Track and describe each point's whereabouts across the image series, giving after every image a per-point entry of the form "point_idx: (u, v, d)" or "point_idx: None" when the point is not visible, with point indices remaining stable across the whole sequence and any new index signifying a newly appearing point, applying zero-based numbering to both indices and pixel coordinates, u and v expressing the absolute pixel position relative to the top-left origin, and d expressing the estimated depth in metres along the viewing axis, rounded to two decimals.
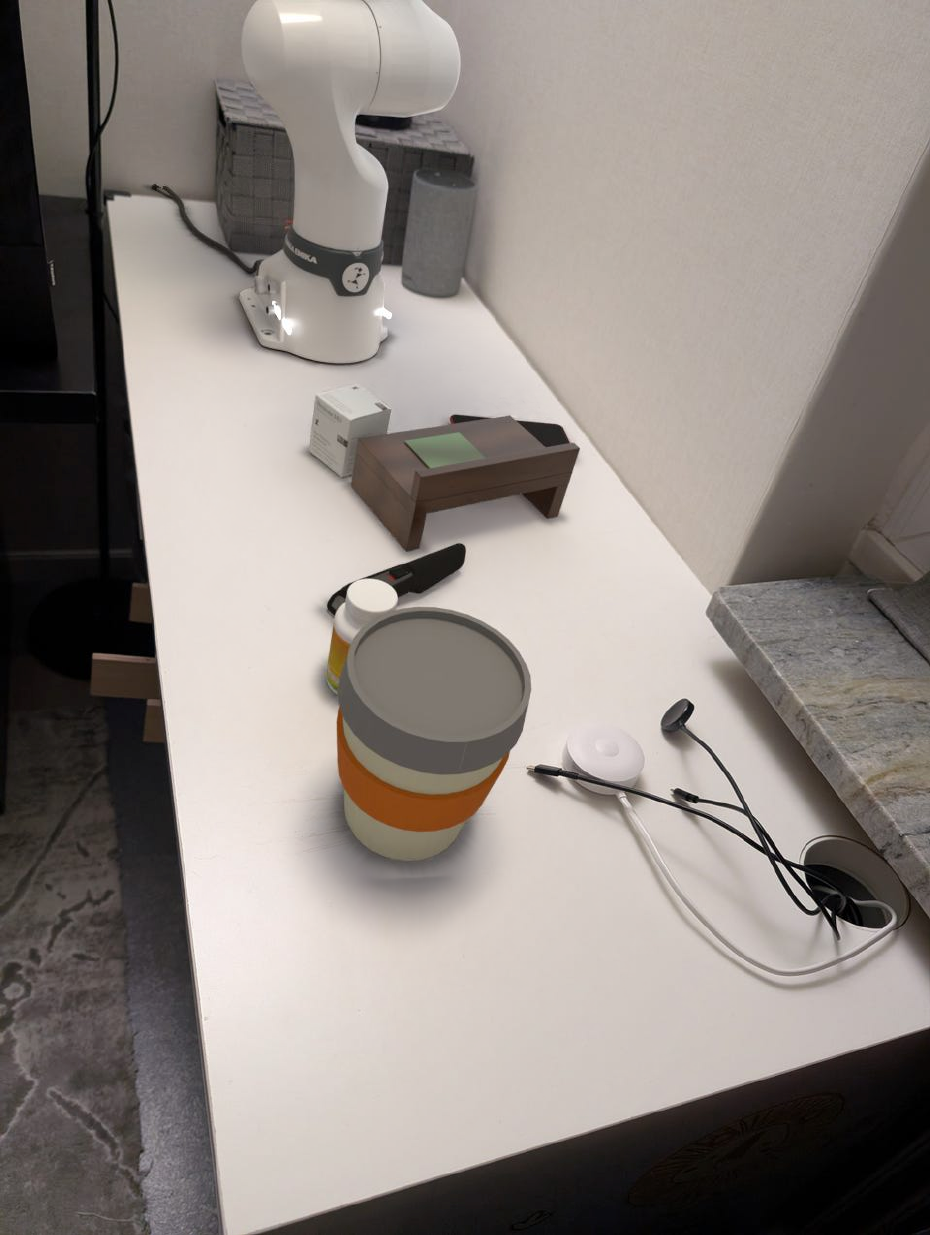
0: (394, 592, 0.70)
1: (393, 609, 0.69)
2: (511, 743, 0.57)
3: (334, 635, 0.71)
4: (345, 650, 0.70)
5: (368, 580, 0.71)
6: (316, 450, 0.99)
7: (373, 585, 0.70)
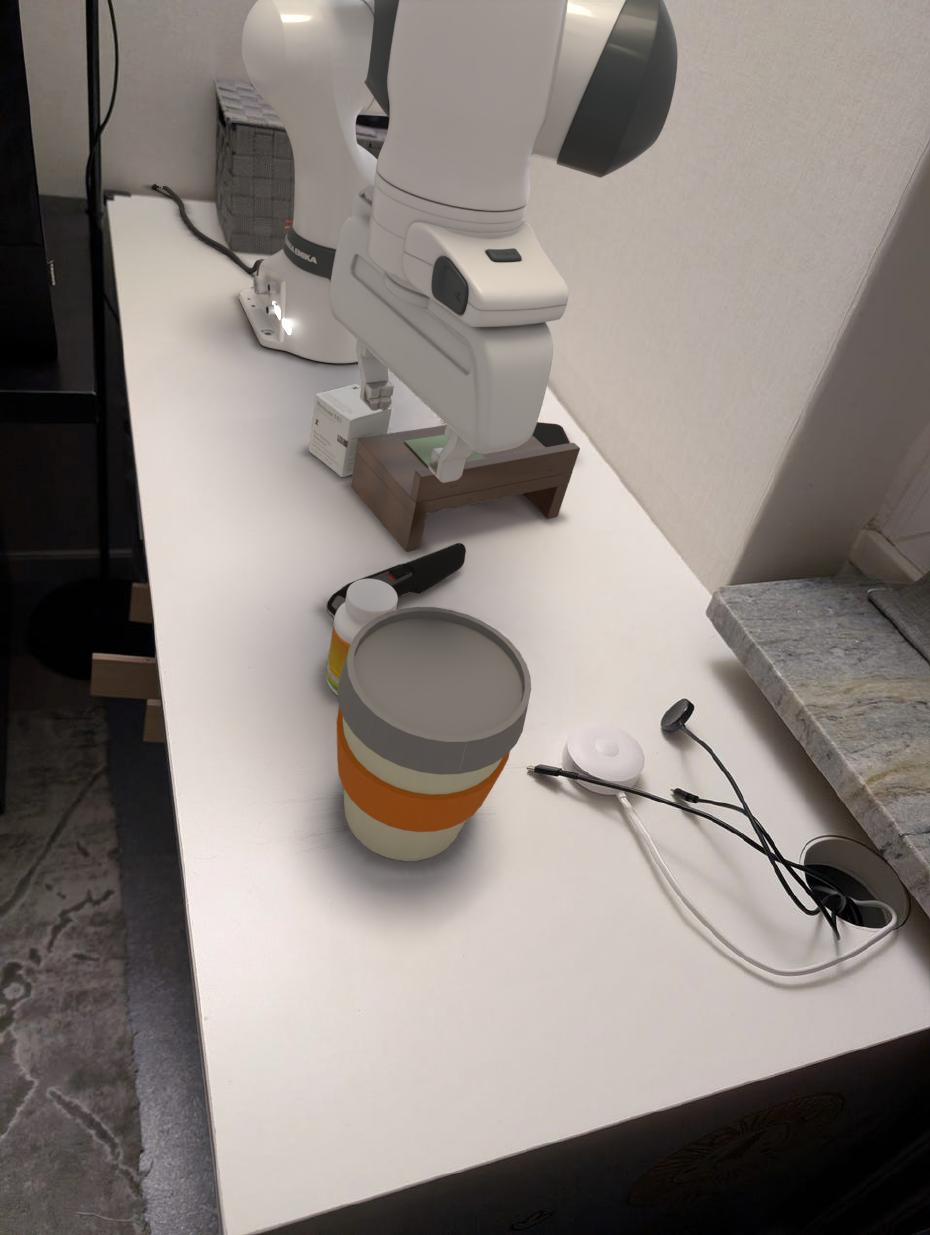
0: (394, 592, 0.70)
1: (393, 609, 0.69)
2: (511, 744, 0.57)
3: (334, 635, 0.71)
4: (345, 650, 0.70)
5: (368, 580, 0.71)
6: (316, 450, 0.99)
7: (373, 585, 0.70)
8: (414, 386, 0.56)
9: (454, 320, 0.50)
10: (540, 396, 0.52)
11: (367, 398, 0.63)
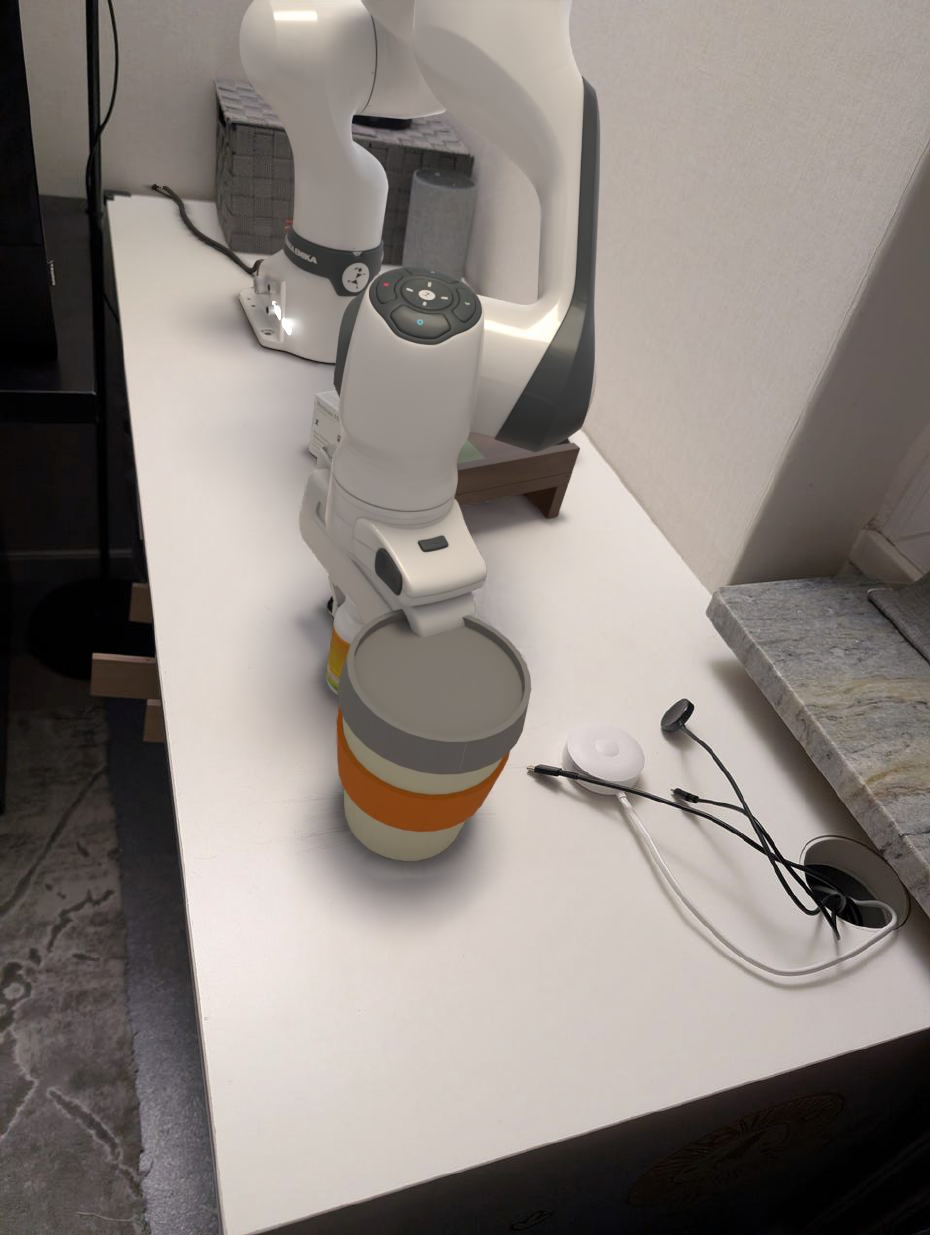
0: None
1: None
2: (511, 744, 0.57)
3: (334, 635, 0.71)
4: (345, 650, 0.70)
5: None
6: (316, 450, 0.99)
7: None
8: (366, 620, 0.67)
9: (393, 593, 0.61)
10: None
11: None
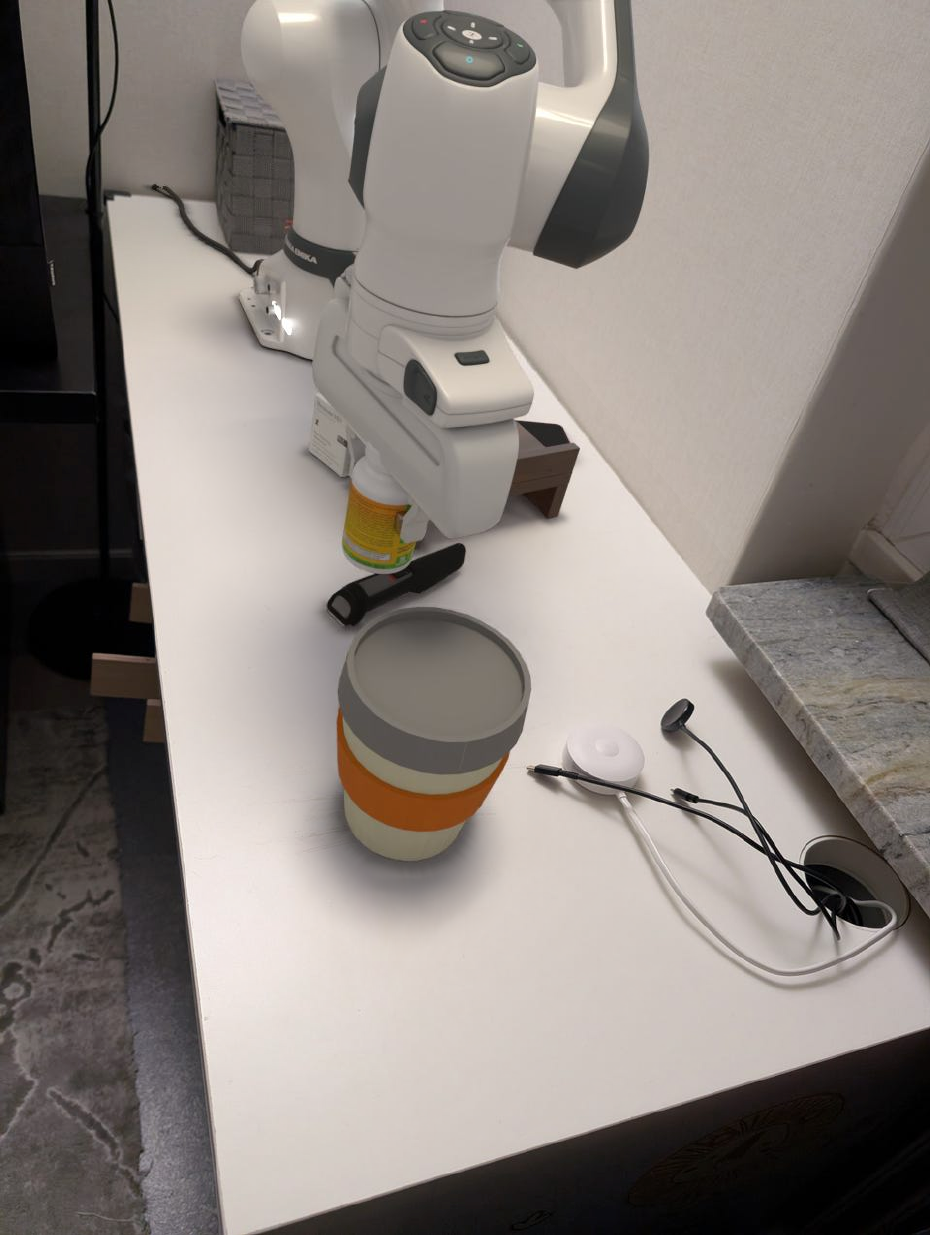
0: None
1: None
2: (511, 744, 0.57)
3: (352, 492, 0.62)
4: (364, 508, 0.62)
5: None
6: (316, 450, 0.99)
7: None
8: (390, 466, 0.59)
9: (424, 417, 0.52)
10: (507, 486, 0.55)
11: None
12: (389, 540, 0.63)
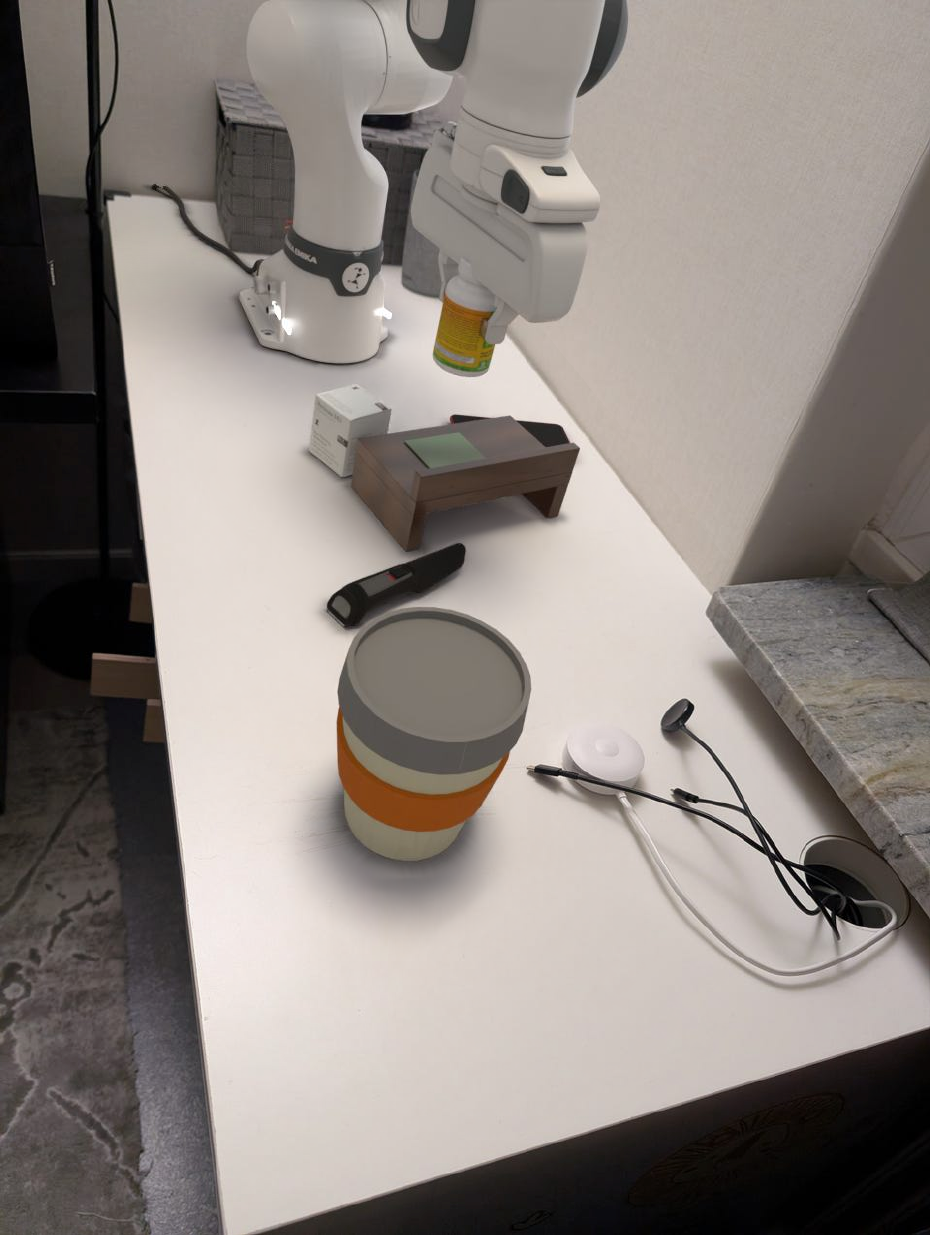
0: None
1: None
2: (511, 744, 0.57)
3: (446, 303, 0.78)
4: (456, 315, 0.77)
5: None
6: (316, 450, 0.99)
7: None
8: (480, 275, 0.74)
9: (516, 219, 0.68)
10: (577, 279, 0.70)
11: None
12: (474, 344, 0.79)
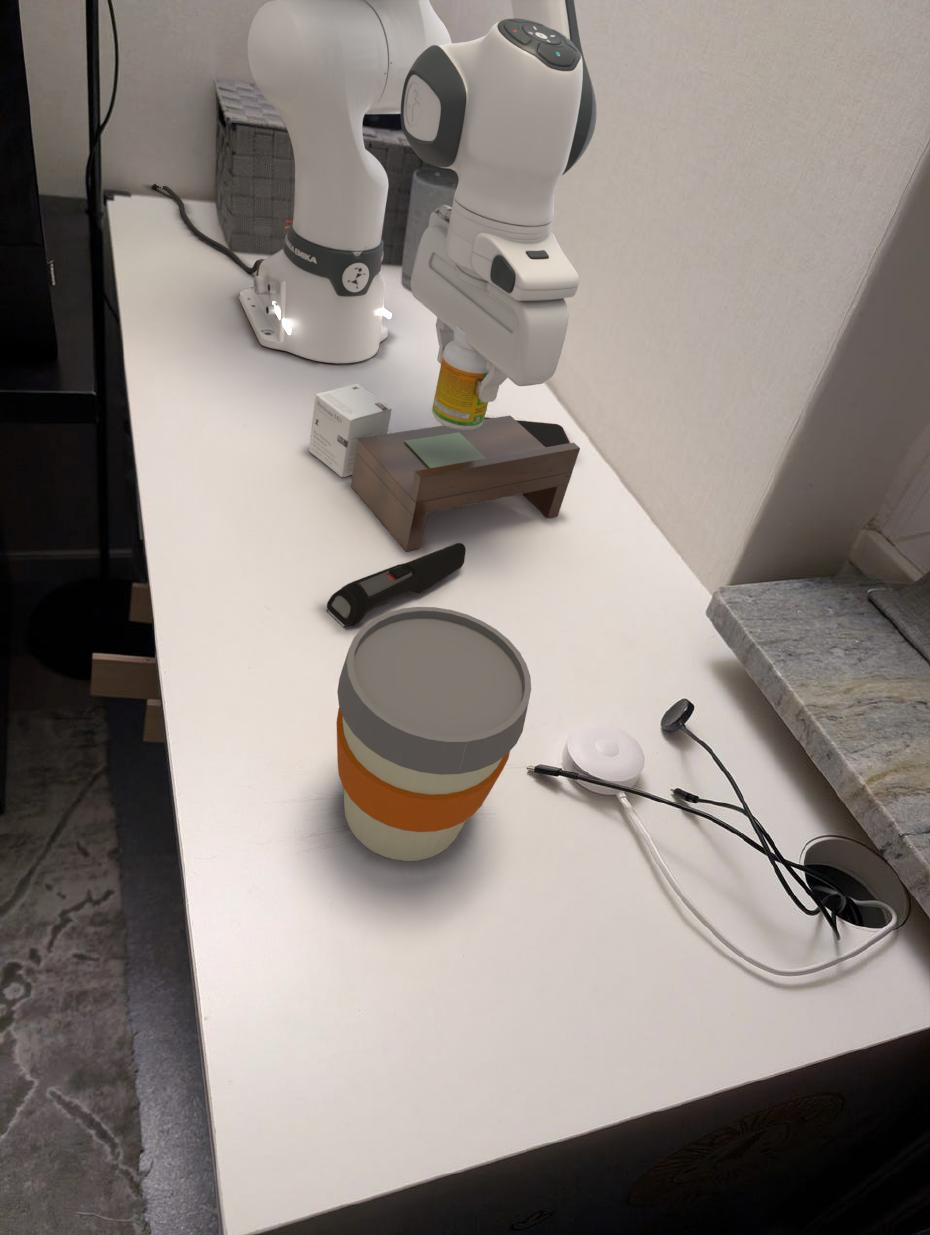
0: None
1: None
2: (511, 744, 0.57)
3: (443, 366, 0.86)
4: (453, 376, 0.86)
5: None
6: (316, 450, 0.99)
7: None
8: (474, 342, 0.83)
9: (504, 297, 0.76)
10: (559, 347, 0.79)
11: None
12: (470, 402, 0.87)
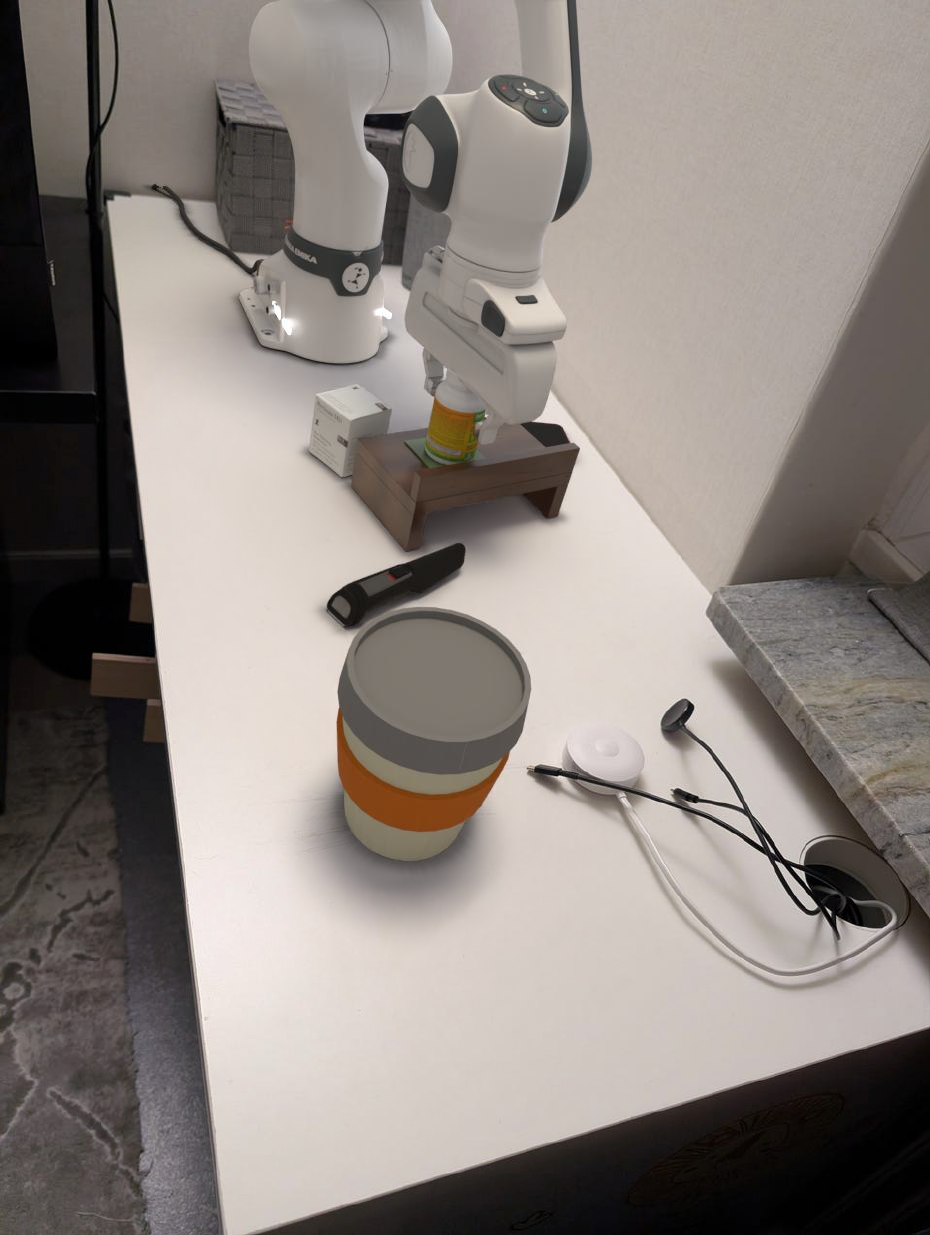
0: None
1: None
2: (511, 744, 0.57)
3: (436, 405, 0.89)
4: (445, 415, 0.89)
5: None
6: (316, 450, 0.99)
7: None
8: (465, 380, 0.86)
9: (495, 340, 0.79)
10: (548, 387, 0.81)
11: (429, 388, 0.93)
12: (461, 439, 0.90)
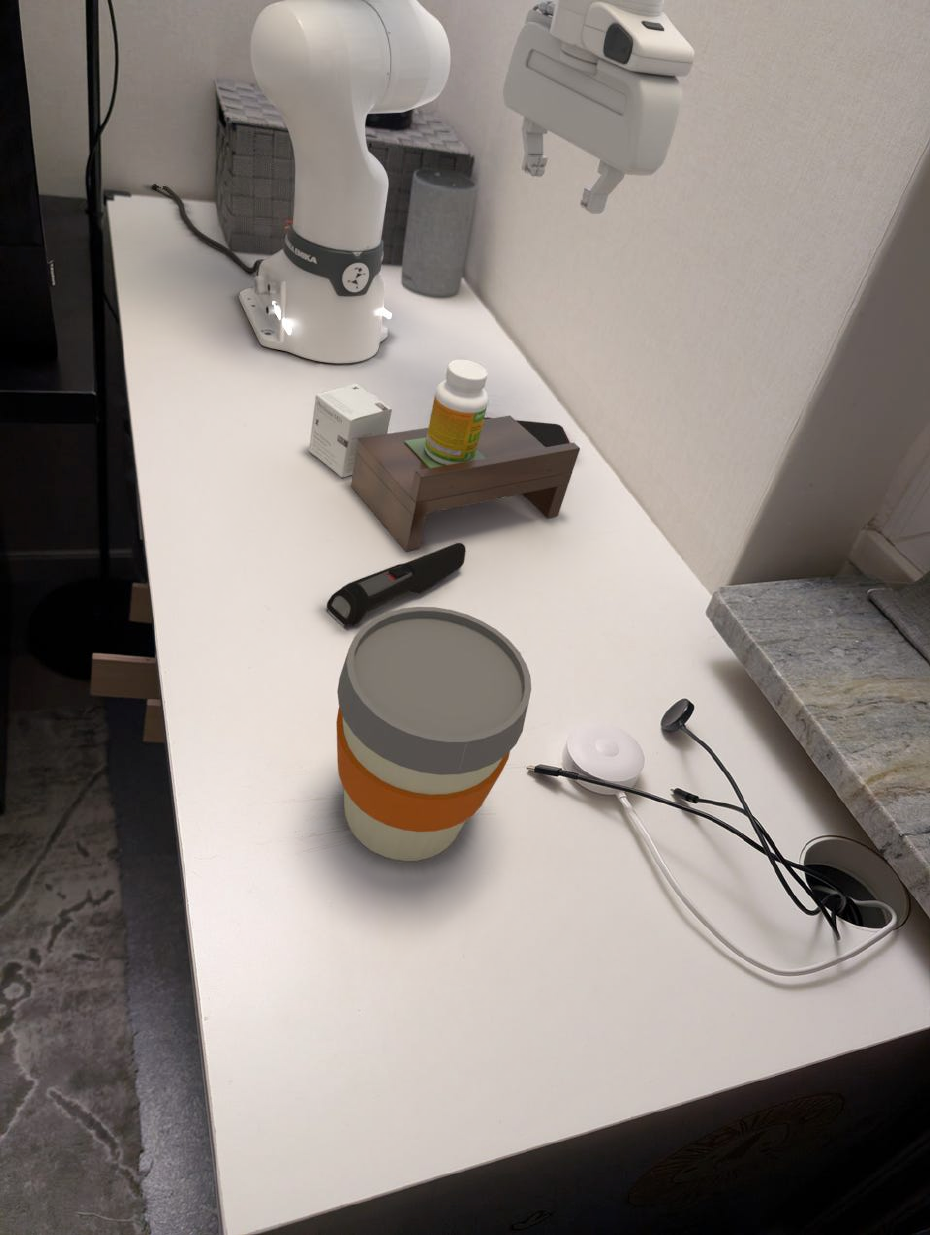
0: (484, 369, 0.89)
1: (484, 380, 0.88)
2: (511, 744, 0.57)
3: (436, 405, 0.89)
4: (445, 415, 0.89)
5: (463, 360, 0.89)
6: (316, 450, 0.99)
7: (468, 364, 0.89)
8: (576, 137, 0.80)
9: (618, 72, 0.73)
10: (671, 131, 0.76)
11: (528, 166, 0.87)
12: (461, 439, 0.90)
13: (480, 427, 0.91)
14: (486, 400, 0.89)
